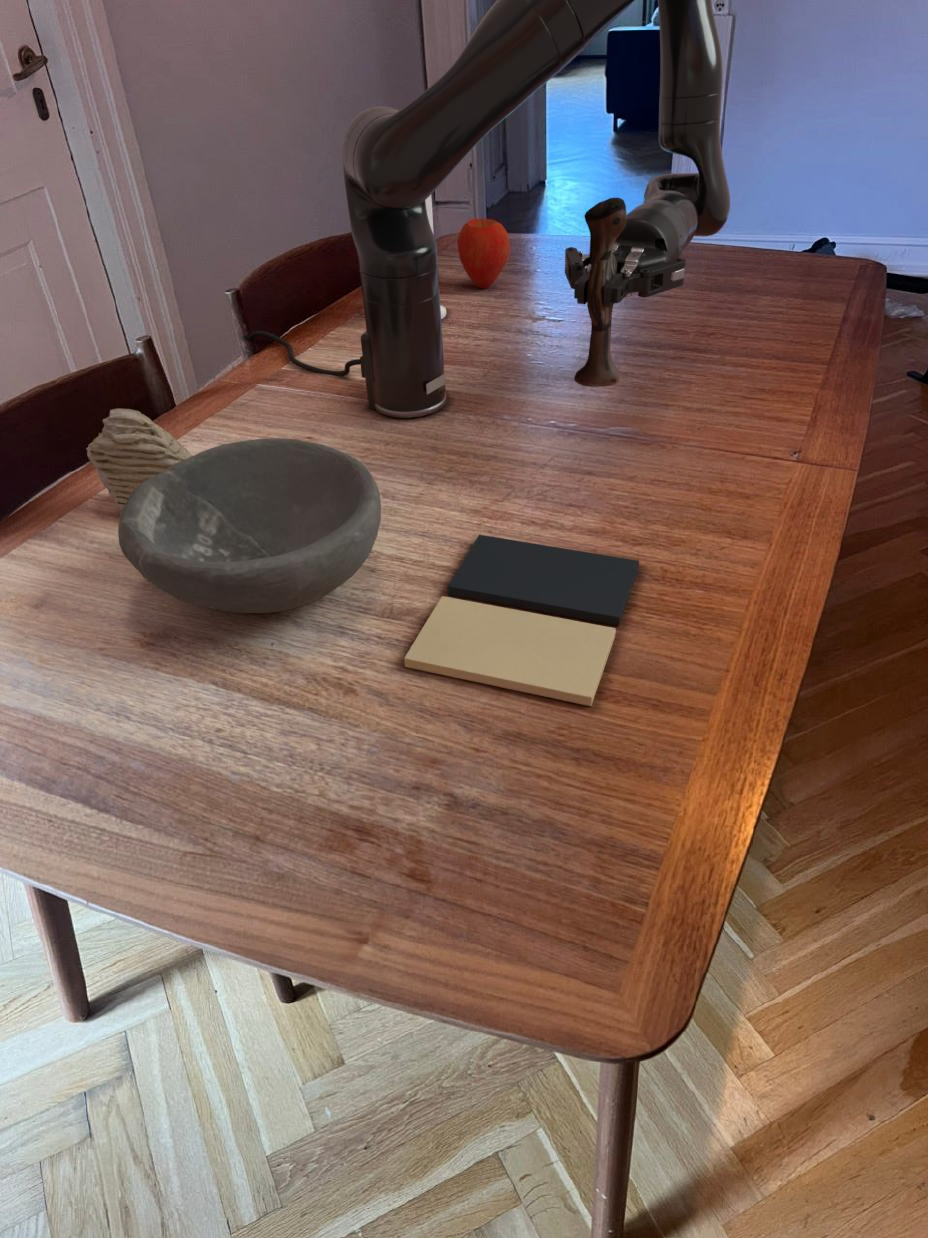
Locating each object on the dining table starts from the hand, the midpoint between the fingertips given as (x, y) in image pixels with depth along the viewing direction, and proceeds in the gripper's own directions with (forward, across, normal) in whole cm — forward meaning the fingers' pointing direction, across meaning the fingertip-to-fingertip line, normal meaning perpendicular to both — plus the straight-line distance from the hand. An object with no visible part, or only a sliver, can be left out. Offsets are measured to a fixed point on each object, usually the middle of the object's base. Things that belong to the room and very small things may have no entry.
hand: (594, 295), depth 86 cm
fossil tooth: (+24, -40, +20) cm, 50 cm away
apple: (-53, -37, +20) cm, 68 cm away
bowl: (+31, -21, +20) cm, 42 cm away
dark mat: (+21, +3, +20) cm, 29 cm away
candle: (-37, -40, +20) cm, 59 cm away
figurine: (-3, 0, +10) cm, 11 cm away
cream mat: (+31, +4, +20) cm, 37 cm away
